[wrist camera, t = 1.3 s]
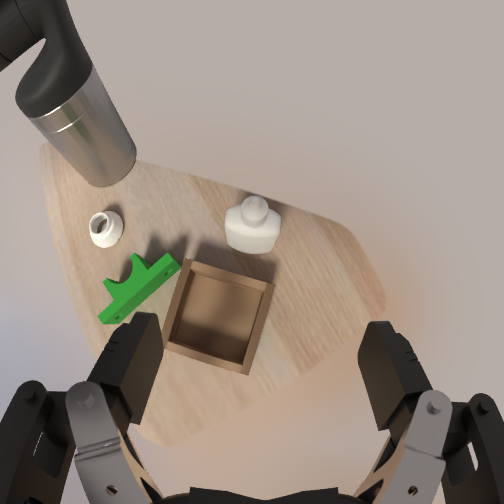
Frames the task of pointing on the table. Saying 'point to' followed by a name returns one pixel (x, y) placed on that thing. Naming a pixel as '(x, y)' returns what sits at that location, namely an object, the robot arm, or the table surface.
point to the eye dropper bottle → (252, 226)
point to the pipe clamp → (136, 286)
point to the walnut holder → (216, 316)
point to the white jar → (106, 229)
